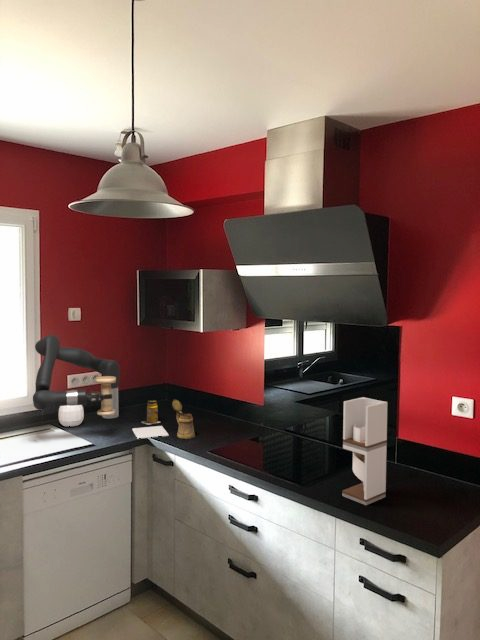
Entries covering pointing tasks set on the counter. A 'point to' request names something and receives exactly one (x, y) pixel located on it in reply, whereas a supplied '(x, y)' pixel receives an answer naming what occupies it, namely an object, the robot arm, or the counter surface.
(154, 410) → the condiment
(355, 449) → the display case
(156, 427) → the mat
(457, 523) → the counter surface
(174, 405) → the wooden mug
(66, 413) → the white faceted vase
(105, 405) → the wooden spool
